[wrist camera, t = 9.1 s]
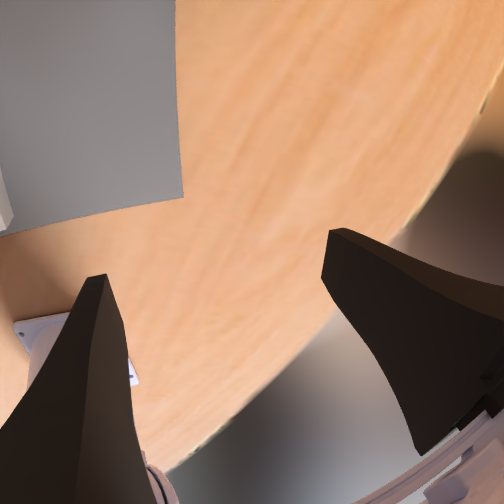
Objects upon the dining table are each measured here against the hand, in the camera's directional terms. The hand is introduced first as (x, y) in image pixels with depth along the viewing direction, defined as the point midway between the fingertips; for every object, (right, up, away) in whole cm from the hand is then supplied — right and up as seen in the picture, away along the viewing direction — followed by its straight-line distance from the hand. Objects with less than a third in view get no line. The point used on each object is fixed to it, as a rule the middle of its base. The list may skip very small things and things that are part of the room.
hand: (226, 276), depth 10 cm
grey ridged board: (-16, +7, 0) cm, 18 cm away
